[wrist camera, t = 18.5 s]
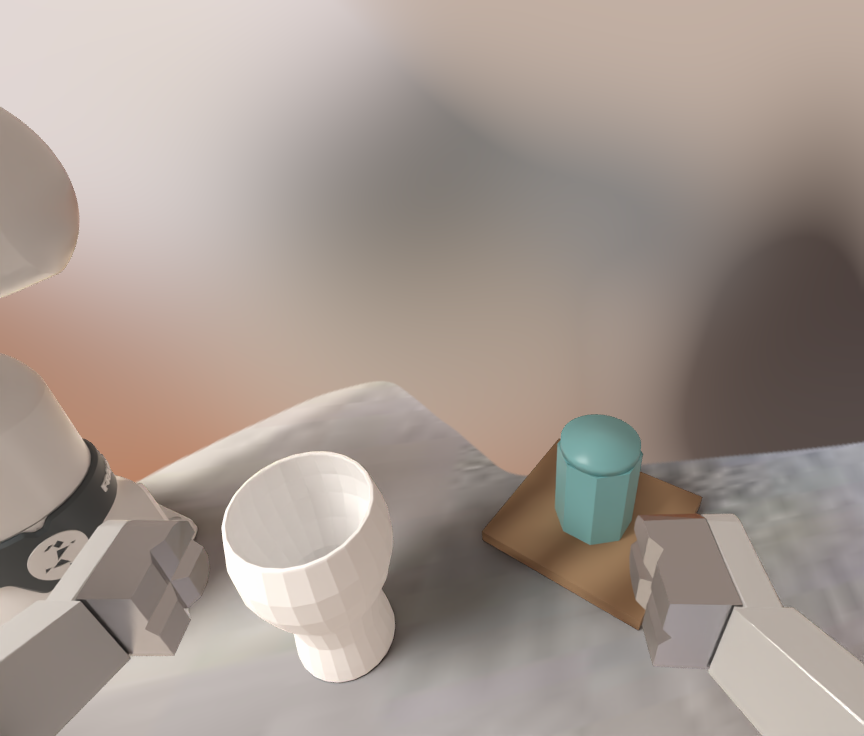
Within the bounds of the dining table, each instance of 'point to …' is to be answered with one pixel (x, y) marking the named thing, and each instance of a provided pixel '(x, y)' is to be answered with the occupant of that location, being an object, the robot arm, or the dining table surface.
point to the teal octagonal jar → (597, 477)
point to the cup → (315, 559)
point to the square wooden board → (567, 555)
